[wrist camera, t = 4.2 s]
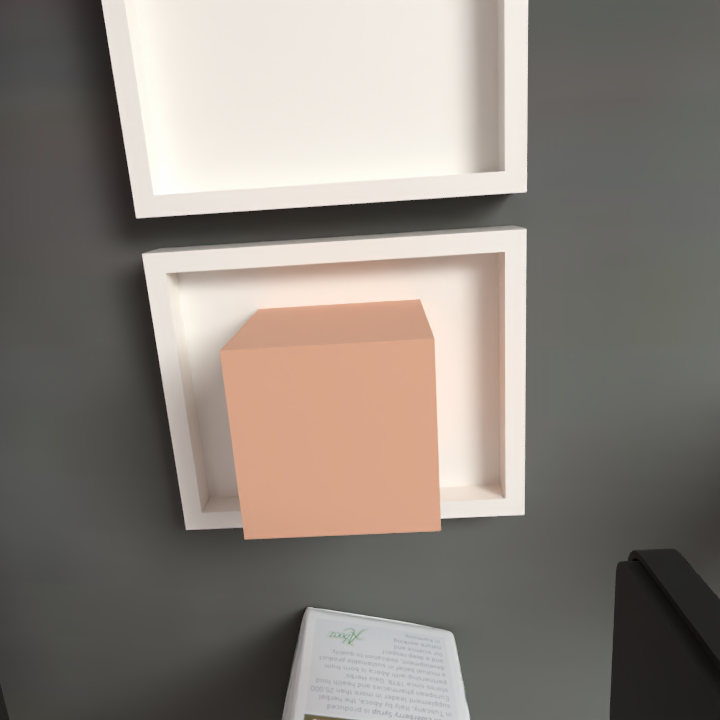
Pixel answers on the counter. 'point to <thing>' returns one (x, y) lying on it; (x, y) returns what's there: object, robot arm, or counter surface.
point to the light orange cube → (334, 420)
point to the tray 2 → (343, 286)
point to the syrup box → (373, 670)
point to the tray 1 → (318, 101)
